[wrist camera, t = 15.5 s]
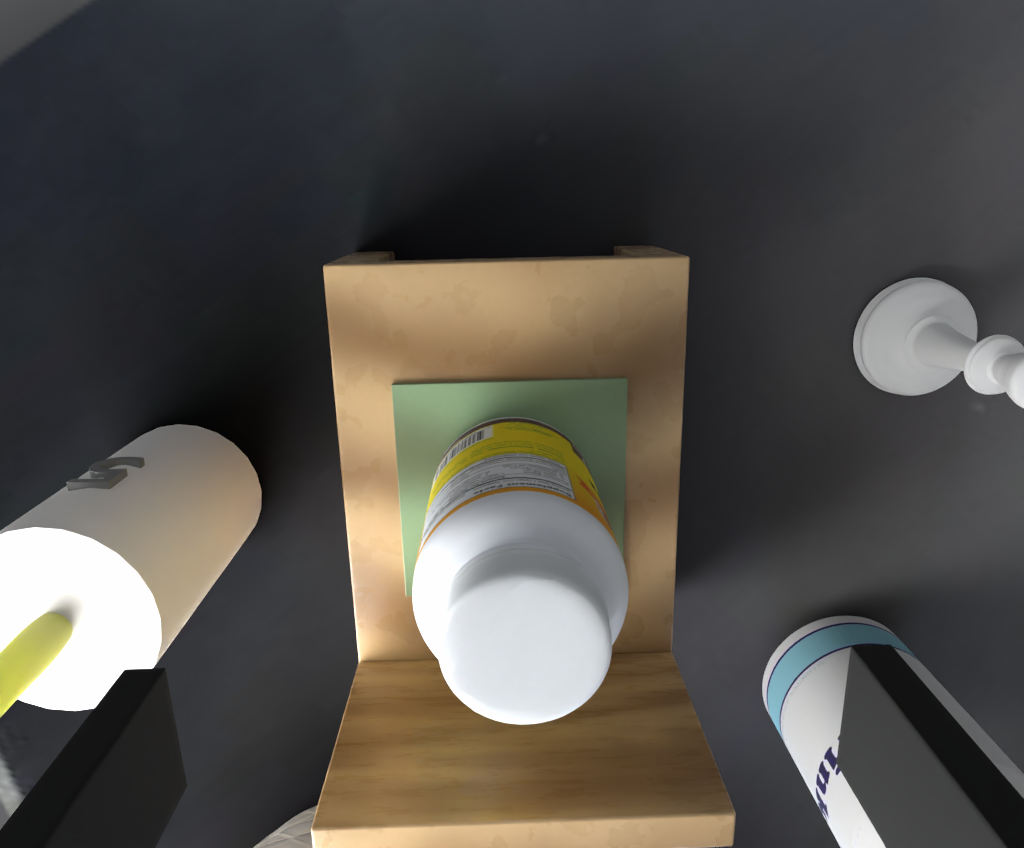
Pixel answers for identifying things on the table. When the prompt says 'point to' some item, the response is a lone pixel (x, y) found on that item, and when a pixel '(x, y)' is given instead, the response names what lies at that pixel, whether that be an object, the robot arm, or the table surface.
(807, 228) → the table surface
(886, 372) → the chess piece
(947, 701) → the beverage can
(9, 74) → the table surface
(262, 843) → the vase
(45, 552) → the candle
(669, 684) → the shelf
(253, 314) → the table surface
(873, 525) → the table surface
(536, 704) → the supplement bottle
